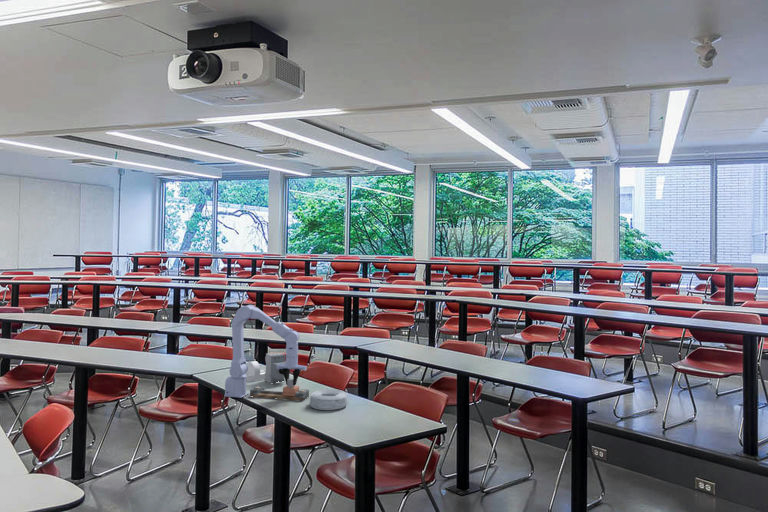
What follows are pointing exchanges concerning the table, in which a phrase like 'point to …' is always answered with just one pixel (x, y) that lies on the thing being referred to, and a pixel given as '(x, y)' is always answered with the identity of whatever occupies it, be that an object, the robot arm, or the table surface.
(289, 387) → the carriage
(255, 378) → the white slotted bracket
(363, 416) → the table surface
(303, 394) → the rail
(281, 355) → the circuit breaker
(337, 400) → the cable
